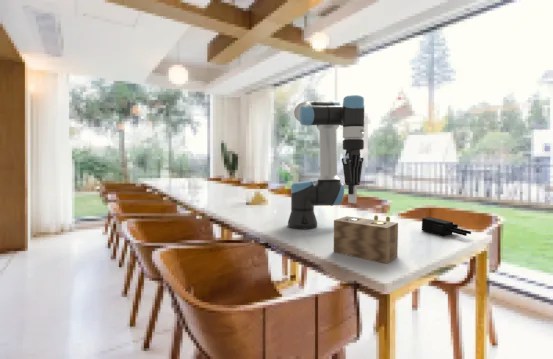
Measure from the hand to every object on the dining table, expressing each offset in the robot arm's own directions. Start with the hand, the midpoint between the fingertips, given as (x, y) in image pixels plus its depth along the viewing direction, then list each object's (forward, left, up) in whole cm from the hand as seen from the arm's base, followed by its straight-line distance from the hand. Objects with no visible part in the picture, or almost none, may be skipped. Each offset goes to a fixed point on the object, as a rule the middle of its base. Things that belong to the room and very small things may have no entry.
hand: (352, 202), depth 115 cm
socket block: (+5, 0, -18) cm, 19 cm away
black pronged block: (+21, +49, -19) cm, 57 cm away
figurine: (-7, +37, -19) cm, 42 cm away
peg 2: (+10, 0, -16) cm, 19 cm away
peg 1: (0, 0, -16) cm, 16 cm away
